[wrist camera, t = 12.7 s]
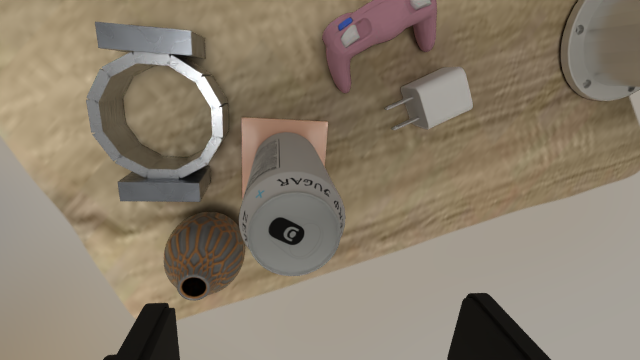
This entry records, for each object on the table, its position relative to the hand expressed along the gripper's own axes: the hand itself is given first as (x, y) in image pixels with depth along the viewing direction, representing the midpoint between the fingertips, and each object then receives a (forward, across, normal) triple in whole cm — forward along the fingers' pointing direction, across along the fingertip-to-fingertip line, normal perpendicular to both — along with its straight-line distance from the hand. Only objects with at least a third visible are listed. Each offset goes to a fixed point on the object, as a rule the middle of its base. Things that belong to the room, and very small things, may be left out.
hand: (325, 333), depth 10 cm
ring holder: (+22, +11, -4) cm, 25 cm away
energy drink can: (+22, +1, 0) cm, 22 cm away
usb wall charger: (+23, -12, -6) cm, 26 cm away
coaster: (+22, +1, 0) cm, 22 cm away
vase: (+22, +8, +8) cm, 25 cm away
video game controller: (+23, -7, -11) cm, 26 cm away
